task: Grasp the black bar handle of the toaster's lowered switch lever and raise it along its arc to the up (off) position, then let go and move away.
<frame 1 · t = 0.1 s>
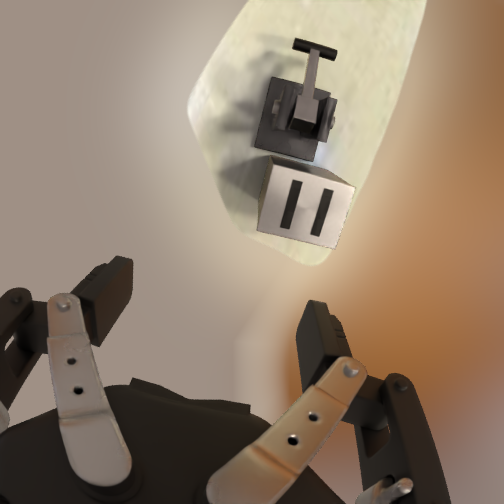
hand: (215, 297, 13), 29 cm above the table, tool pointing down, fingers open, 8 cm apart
switch lever: (309, 80, 26), point 9 cm above the table, hinge at -28.0°
toaster body: (293, 185, 39), on the table
switch bracket: (292, 118, 36), on the table
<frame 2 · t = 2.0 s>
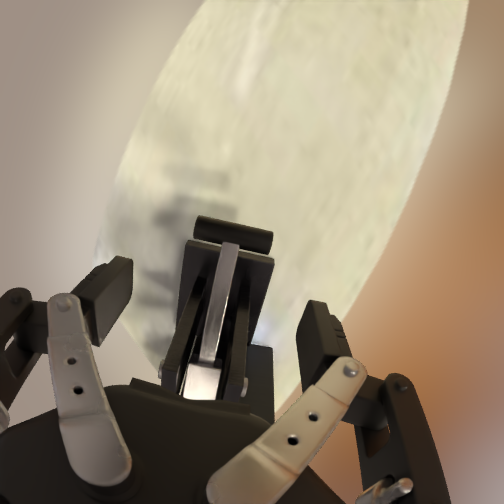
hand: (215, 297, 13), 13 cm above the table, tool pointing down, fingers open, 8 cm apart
switch lever: (215, 314, 19), point 9 cm above the table, hinge at -28.0°
toaster body: (229, 361, 32), on the table
switch bracket: (221, 294, 28), on the table
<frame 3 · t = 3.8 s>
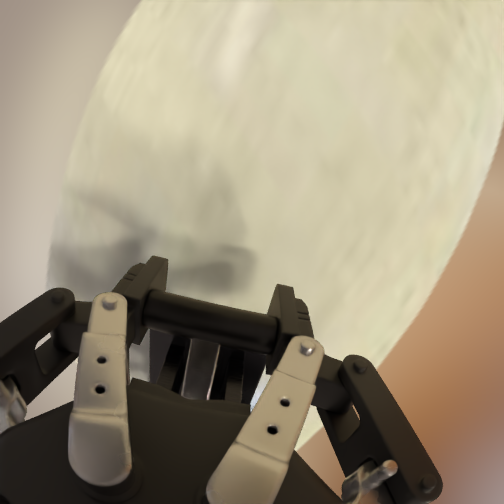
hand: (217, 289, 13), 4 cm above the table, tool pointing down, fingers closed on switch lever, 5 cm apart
switch lever: (188, 435, 10), point 9 cm above the table, hinge at -28.1°, touching gripper
switch bracket: (205, 361, 20), on the table
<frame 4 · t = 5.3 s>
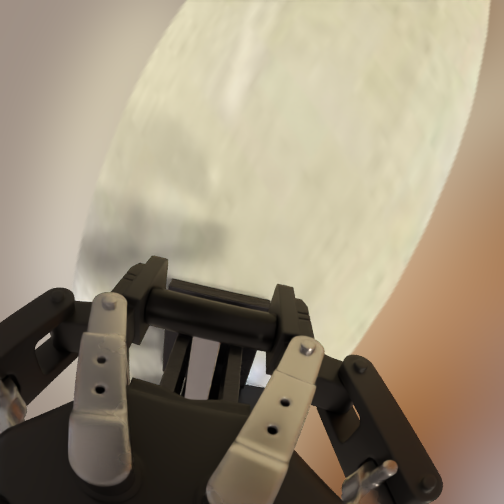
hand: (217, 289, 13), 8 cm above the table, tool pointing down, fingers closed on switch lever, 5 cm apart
switch lever: (195, 401, 13), point 11 cm above the table, hinge at -2.2°, touching gripper
toaster body: (222, 400, 28), on the table
switch bracket: (211, 336, 25), on the table
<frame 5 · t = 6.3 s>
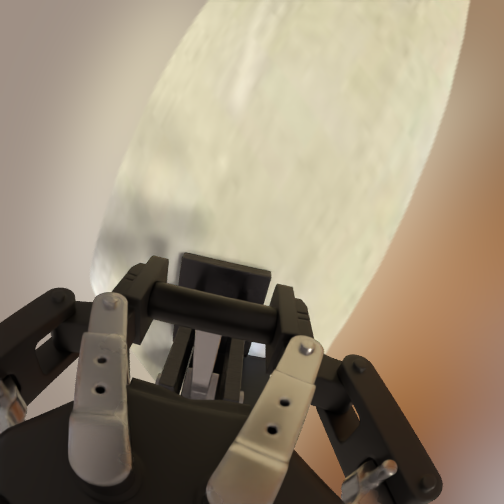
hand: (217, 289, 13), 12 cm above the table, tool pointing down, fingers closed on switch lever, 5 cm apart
switch lever: (203, 366, 15), point 13 cm above the table, hinge at 19.0°, touching gripper
toaster body: (227, 371, 32), on the table
switch bracket: (218, 306, 28), on the table
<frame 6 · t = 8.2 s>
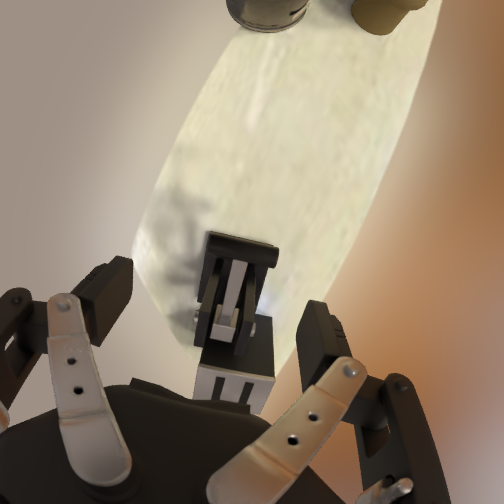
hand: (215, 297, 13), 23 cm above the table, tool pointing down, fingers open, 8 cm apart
switch lever: (231, 295, 25), point 13 cm above the table, hinge at 19.6°
toaster body: (238, 329, 42), on the table
switch bracket: (233, 272, 38), on the table
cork: (373, 16, 24), on the table
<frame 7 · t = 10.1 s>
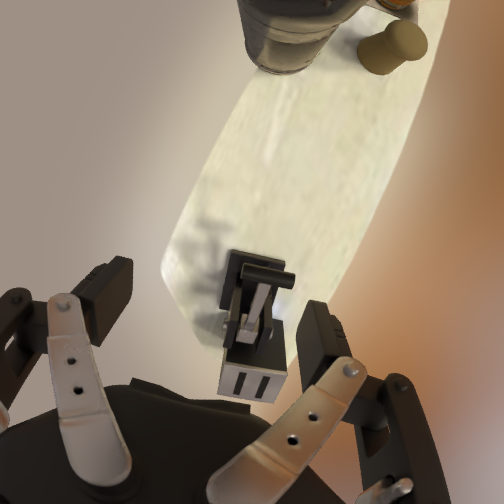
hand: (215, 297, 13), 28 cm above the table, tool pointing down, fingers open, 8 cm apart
switch lever: (255, 307, 31), point 13 cm above the table, hinge at 19.6°
toaster body: (253, 331, 48), on the table
switch bracket: (250, 284, 45), on the table
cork: (376, 56, 30), on the table
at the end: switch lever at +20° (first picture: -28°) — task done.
